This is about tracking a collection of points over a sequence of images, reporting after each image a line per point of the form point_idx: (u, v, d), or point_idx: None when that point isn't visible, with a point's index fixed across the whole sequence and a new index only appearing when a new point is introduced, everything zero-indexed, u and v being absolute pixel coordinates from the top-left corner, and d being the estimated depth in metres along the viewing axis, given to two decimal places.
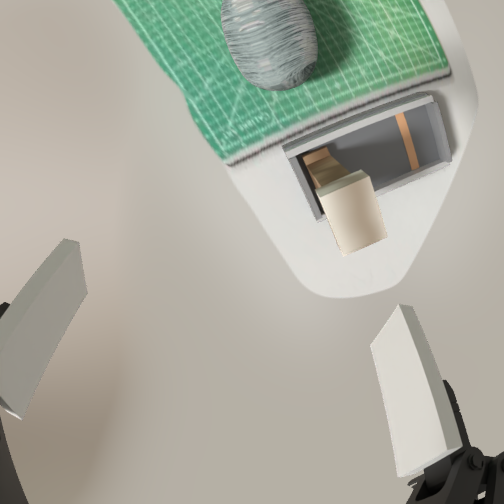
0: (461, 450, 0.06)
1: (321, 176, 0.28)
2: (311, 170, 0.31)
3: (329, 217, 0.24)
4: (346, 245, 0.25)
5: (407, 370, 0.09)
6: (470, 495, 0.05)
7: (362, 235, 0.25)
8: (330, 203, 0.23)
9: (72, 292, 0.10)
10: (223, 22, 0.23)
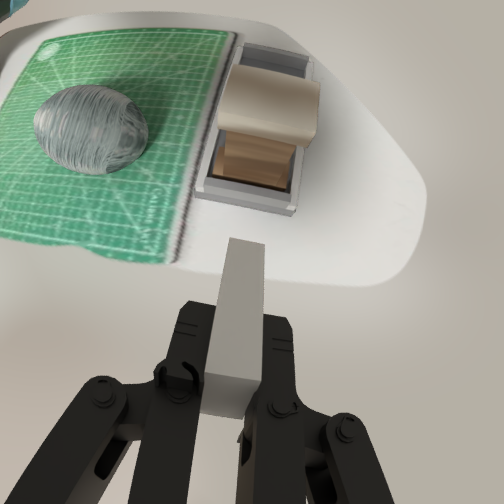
0: None
1: None
2: (224, 162, 0.25)
3: (250, 115, 0.17)
4: (301, 121, 0.17)
5: None
6: (294, 450, 0.06)
7: (299, 100, 0.17)
8: (234, 105, 0.17)
9: None
10: (50, 152, 0.24)
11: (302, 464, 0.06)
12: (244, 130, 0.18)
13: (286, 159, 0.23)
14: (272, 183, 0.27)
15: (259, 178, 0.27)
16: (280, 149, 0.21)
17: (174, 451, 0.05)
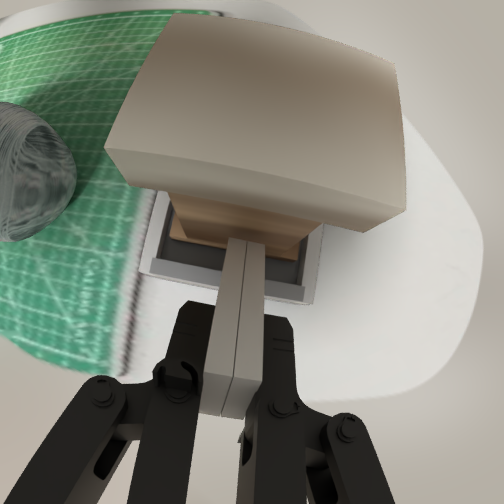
0: None
1: None
2: None
3: (201, 155, 0.05)
4: (367, 170, 0.05)
5: None
6: (295, 450, 0.06)
7: (354, 104, 0.06)
8: (153, 124, 0.05)
9: None
10: None
11: (303, 464, 0.06)
12: (196, 191, 0.07)
13: (304, 231, 0.11)
14: (273, 253, 0.16)
15: None
16: (292, 217, 0.10)
17: (173, 451, 0.05)
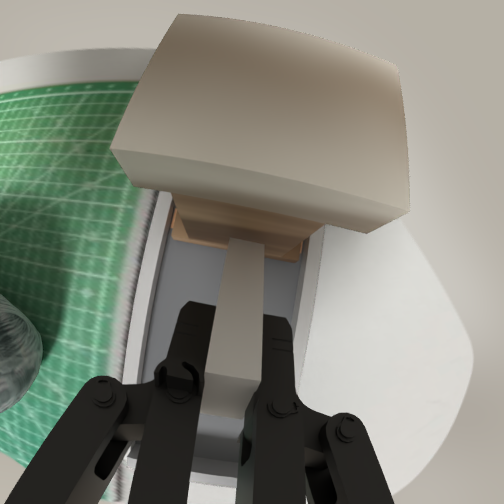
0: None
1: None
2: None
3: (208, 157, 0.05)
4: (371, 172, 0.06)
5: None
6: (294, 450, 0.06)
7: (358, 106, 0.06)
8: (159, 125, 0.05)
9: None
10: None
11: (302, 464, 0.06)
12: (201, 192, 0.07)
13: (306, 232, 0.11)
14: (275, 254, 0.16)
15: None
16: (295, 218, 0.10)
17: (174, 451, 0.05)
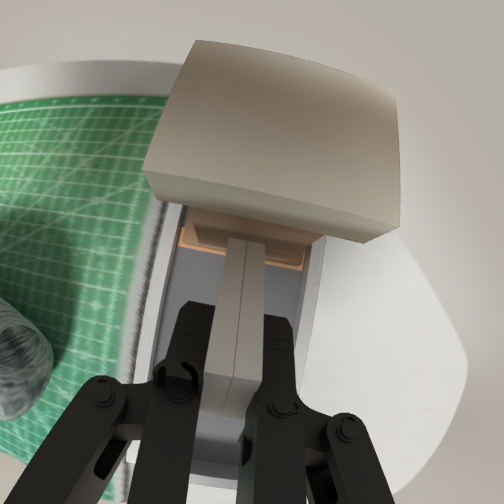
0: None
1: None
2: None
3: (228, 180, 0.06)
4: (366, 193, 0.07)
5: None
6: (295, 450, 0.06)
7: (357, 133, 0.07)
8: (185, 150, 0.06)
9: None
10: None
11: (303, 464, 0.06)
12: (219, 207, 0.08)
13: (309, 240, 0.12)
14: (280, 258, 0.17)
15: None
16: None
17: (173, 451, 0.05)
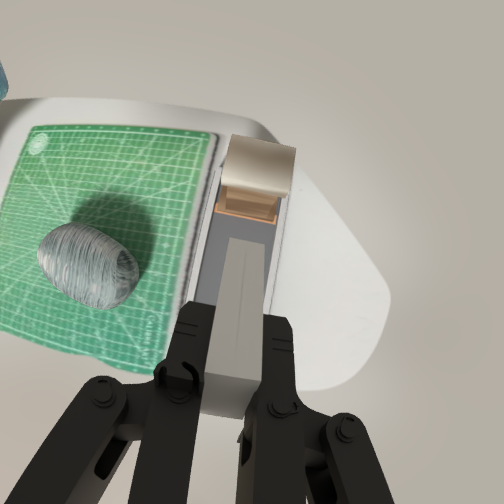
0: None
1: None
2: (226, 201, 0.34)
3: (243, 179, 0.25)
4: (280, 181, 0.26)
5: None
6: (294, 450, 0.06)
7: (279, 165, 0.26)
8: (232, 171, 0.26)
9: None
10: (57, 288, 0.31)
11: (302, 464, 0.06)
12: (240, 187, 0.27)
13: (272, 202, 0.31)
14: (263, 216, 0.36)
15: (253, 212, 0.36)
16: (267, 196, 0.30)
17: (174, 451, 0.05)
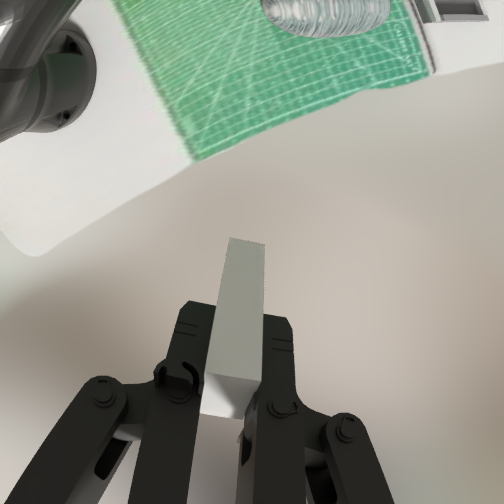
0: None
1: None
2: None
3: None
4: None
5: None
6: (294, 450, 0.06)
7: None
8: None
9: None
10: (314, 33, 0.24)
11: (302, 464, 0.06)
12: None
13: None
14: None
15: None
16: None
17: (174, 451, 0.05)
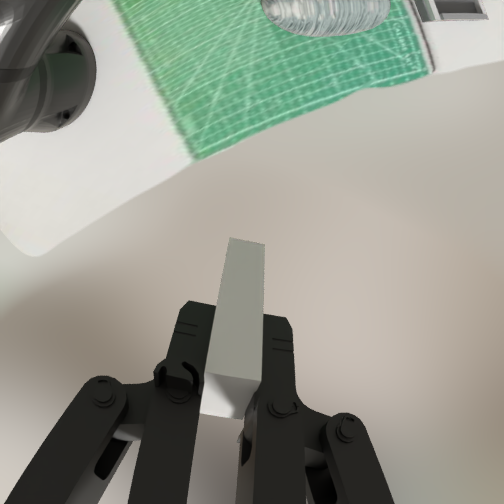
0: None
1: None
2: None
3: None
4: None
5: None
6: (294, 450, 0.06)
7: None
8: None
9: None
10: (314, 32, 0.24)
11: (302, 464, 0.06)
12: None
13: None
14: None
15: None
16: None
17: (174, 451, 0.05)
